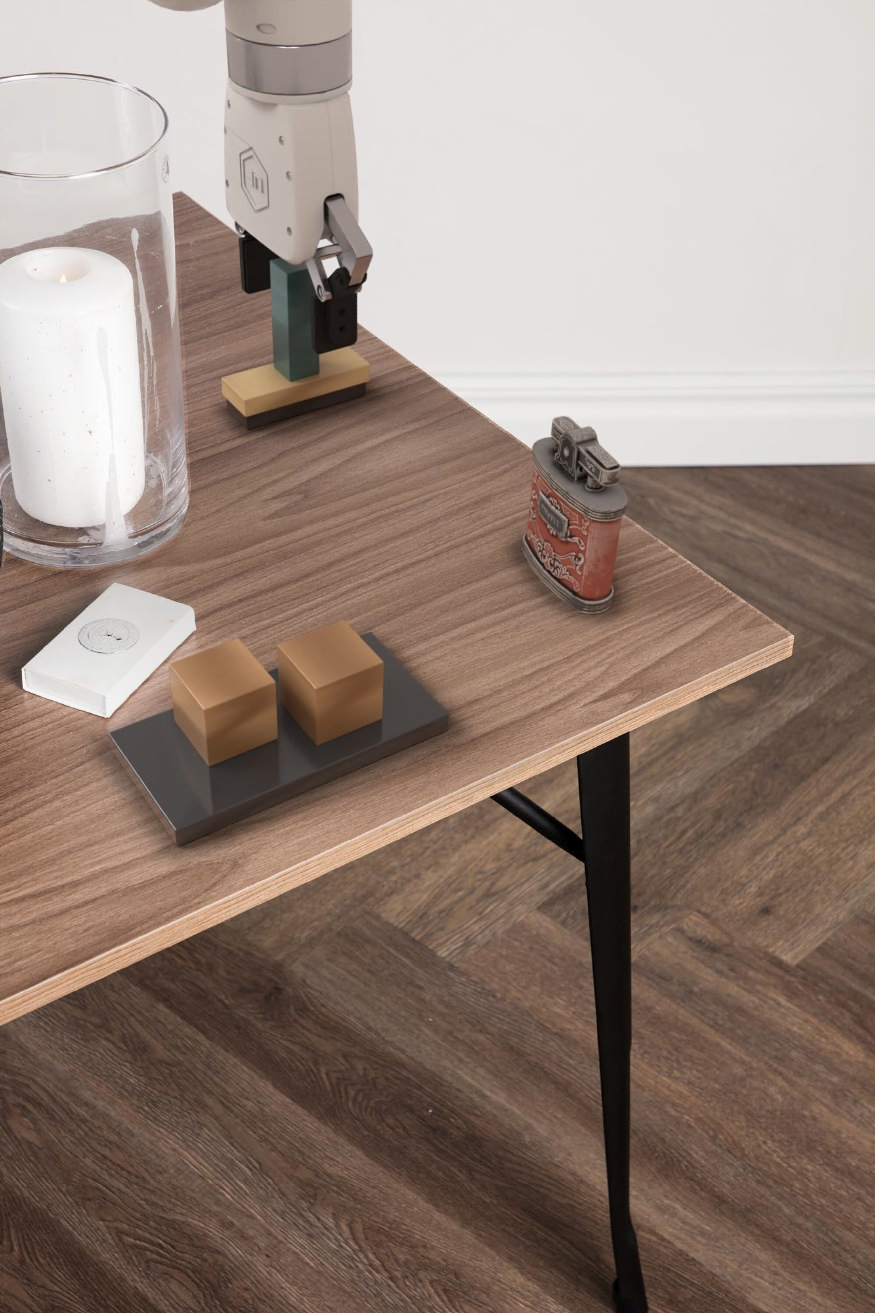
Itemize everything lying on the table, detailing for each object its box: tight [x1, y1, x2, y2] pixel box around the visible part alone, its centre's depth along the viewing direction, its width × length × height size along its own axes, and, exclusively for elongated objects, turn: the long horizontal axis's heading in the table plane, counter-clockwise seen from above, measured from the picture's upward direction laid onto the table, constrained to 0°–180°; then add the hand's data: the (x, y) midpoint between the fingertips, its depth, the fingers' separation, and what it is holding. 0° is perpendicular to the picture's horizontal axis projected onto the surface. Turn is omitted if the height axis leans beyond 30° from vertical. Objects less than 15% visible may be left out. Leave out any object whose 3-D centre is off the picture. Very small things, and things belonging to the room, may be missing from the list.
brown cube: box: [276, 619, 384, 746], centre depth 74 cm, size 4×4×4 cm
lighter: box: [521, 415, 629, 615], centre depth 84 cm, size 8×3×10 cm, turn 27°
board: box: [107, 631, 450, 847], centre depth 75 cm, size 16×8×1 cm, turn 124°
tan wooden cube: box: [168, 637, 278, 767], centre depth 72 cm, size 4×4×4 cm
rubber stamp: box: [221, 258, 371, 431], centre depth 97 cm, size 10×4×11 cm, turn 124°
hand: (298, 317), depth 96 cm, fingers open, 9 cm apart
